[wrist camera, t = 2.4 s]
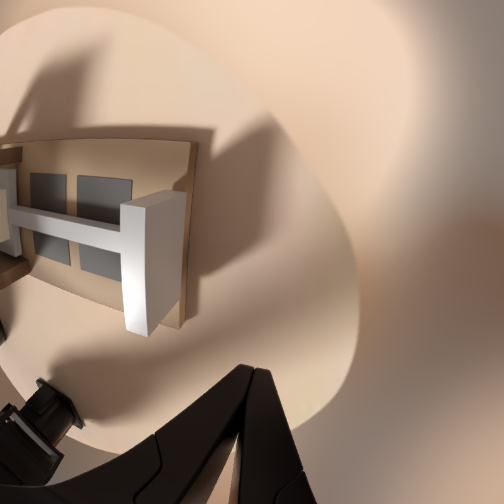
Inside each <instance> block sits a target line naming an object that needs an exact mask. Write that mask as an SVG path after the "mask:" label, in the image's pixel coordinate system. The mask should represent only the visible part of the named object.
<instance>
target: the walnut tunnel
mask: <svg viewBox="0 0 504 504" xmlns="http://www.w3.org/2000/svg"><path fill="white" fill-rule="evenodd" d="M22 151H23V146H20V147H11V148H4V149H0V166H2V165H7V164H13V163H18V162H22ZM29 273H31V271H30V266H29V259H26V258H24V257H21V256H17V257H14V256H12V255H9V254H7V253H5V252H3V251H0V290H2V289H3V288H5V287H7V286H8V285H10V284H12V283H13V282H15V281H17V280H18V279H20V278H22V277H24V276H25V275H27V274H29Z"/></svg>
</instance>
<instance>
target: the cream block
mask: <svg viewBox="0 0 504 504" xmlns="http://www.w3.org/2000/svg"><path fill="white" fill-rule="evenodd" d="M8 239H10V234H9V224H8V214H7V199H6V189H0V243H1V242H3V241H6V240H8Z"/></svg>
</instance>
